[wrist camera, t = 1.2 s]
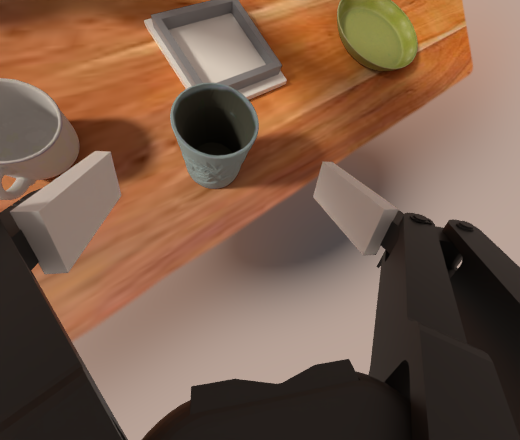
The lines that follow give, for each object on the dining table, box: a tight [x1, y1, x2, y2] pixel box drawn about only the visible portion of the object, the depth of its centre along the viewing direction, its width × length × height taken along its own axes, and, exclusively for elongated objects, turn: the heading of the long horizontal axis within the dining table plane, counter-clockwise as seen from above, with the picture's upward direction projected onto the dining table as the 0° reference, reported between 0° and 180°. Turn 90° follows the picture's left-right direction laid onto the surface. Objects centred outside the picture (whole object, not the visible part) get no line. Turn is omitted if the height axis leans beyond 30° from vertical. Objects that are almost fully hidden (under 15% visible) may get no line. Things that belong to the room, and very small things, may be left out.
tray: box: [144, 0, 287, 100], centre depth 41 cm, size 20×18×3 cm
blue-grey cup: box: [170, 83, 259, 189], centre depth 32 cm, size 10×10×12 cm
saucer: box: [337, 0, 418, 71], centre depth 51 cm, size 21×21×3 cm
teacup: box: [0, 78, 80, 200], centre depth 28 cm, size 14×11×8 cm
